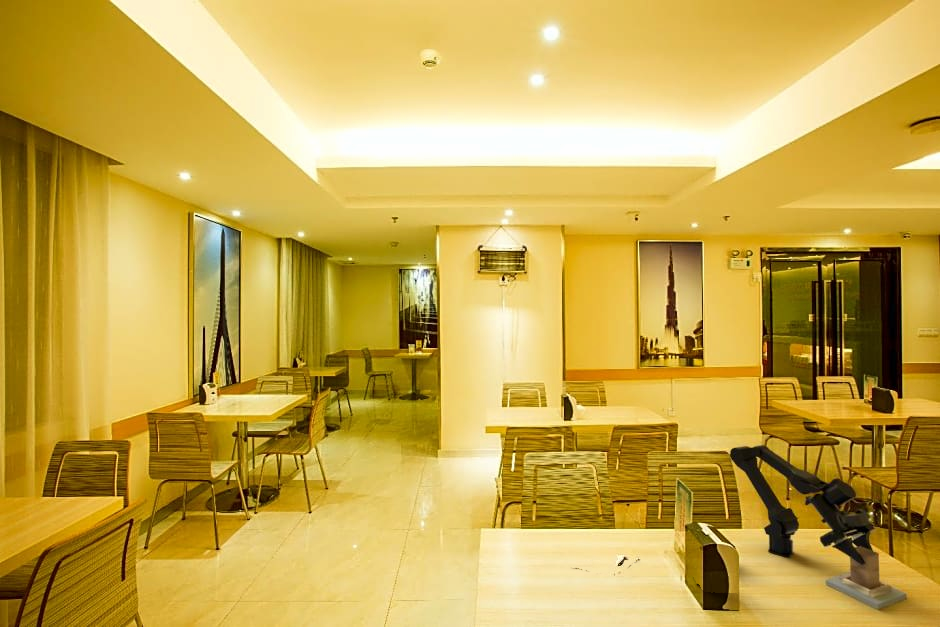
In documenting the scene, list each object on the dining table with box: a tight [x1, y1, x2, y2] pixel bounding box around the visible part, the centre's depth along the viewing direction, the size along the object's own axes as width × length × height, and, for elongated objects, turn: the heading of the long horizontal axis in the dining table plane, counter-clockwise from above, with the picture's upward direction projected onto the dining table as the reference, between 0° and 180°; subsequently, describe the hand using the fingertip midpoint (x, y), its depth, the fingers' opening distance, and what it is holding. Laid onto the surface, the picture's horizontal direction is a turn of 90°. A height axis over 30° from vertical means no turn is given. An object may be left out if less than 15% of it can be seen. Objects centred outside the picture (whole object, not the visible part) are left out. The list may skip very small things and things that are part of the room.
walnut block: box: [849, 546, 880, 590], centre depth 146 cm, size 5×5×10 cm
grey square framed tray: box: [825, 571, 908, 610], centre depth 146 cm, size 14×14×3 cm
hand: (869, 562), depth 145 cm, fingers open, 5 cm apart
